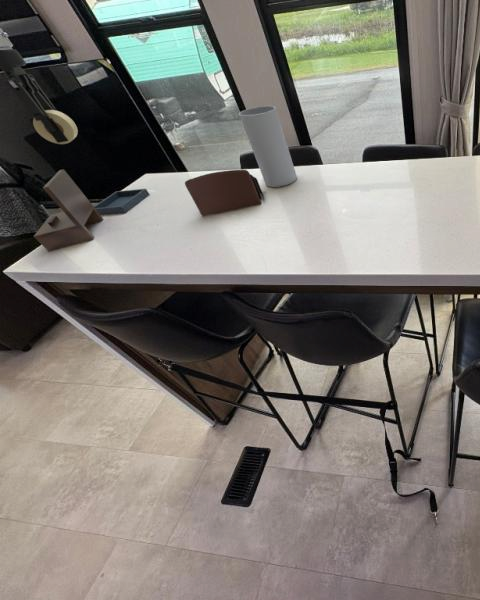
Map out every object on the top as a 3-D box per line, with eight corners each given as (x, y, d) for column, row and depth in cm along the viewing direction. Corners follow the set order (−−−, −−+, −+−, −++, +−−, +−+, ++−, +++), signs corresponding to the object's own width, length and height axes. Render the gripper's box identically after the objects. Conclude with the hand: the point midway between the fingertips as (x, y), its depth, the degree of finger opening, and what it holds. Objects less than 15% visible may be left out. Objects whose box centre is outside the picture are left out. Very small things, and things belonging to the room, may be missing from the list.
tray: (126, 212, 118) (121, 206, 117) (93, 215, 119) (88, 209, 117) (149, 194, 130) (145, 188, 128) (120, 197, 130) (116, 191, 129)
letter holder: (263, 208, 111) (246, 167, 101) (203, 220, 108) (180, 179, 98) (264, 196, 118) (248, 157, 108) (208, 208, 115) (187, 168, 106)
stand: (52, 255, 99) (-6, 198, 86) (67, 233, 110) (17, 178, 97) (97, 244, 102) (47, 186, 89) (106, 223, 113) (63, 169, 100)
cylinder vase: (269, 177, 132) (243, 108, 115) (299, 173, 132) (278, 104, 116) (263, 189, 123) (234, 117, 106) (295, 185, 123) (272, 112, 106)
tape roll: (49, 147, 102) (24, 115, 96) (53, 143, 106) (29, 112, 99) (81, 140, 105) (59, 109, 99) (84, 137, 108) (63, 107, 102)
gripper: (1, 49, 84) (71, 143, 100) (26, 46, 96) (85, 131, 112) (-35, 54, 82) (42, 149, 98) (-5, 50, 94) (60, 135, 110)
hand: (65, 139), depth 105 cm, fingers closed on tape roll, 5 cm apart
